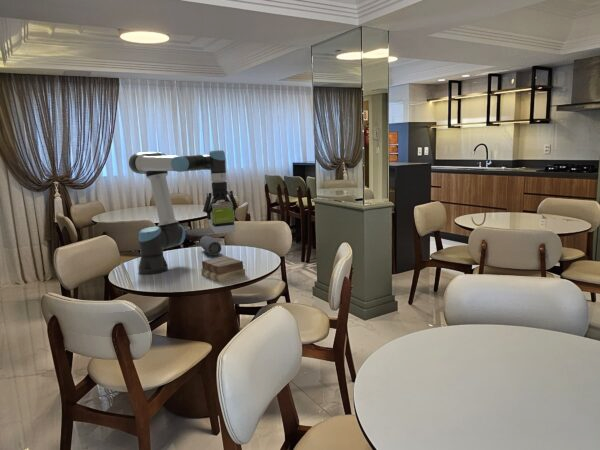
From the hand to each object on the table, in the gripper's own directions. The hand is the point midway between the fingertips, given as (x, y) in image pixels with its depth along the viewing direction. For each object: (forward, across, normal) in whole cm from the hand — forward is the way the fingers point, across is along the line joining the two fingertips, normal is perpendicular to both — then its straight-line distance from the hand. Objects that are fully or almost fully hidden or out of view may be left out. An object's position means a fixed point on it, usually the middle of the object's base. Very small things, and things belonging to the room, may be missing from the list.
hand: (222, 224), depth 221 cm
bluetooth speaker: (+27, +19, +47) cm, 57 cm away
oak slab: (+27, -2, -1) cm, 27 cm away
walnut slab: (+23, -2, -1) cm, 23 cm away
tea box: (+4, 0, 0) cm, 4 cm away
